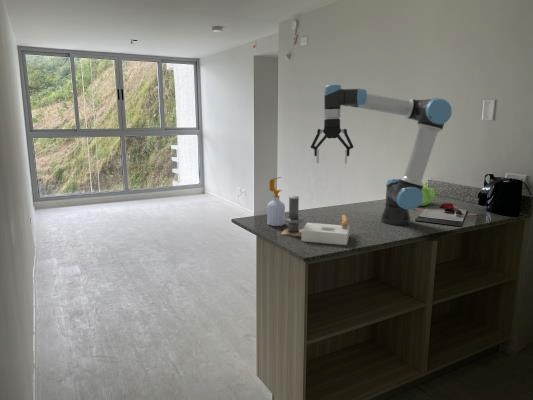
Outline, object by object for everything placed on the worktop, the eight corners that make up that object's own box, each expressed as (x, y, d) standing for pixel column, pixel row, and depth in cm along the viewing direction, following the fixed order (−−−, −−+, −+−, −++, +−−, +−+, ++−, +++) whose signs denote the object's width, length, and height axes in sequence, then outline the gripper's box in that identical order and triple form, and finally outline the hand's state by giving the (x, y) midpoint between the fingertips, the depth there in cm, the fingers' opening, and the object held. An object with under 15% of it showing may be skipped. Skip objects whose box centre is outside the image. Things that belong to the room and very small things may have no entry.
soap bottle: (279, 227, 206) (279, 178, 201) (263, 224, 210) (264, 177, 205) (287, 223, 213) (288, 176, 208) (272, 221, 218) (273, 175, 213)
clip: (347, 225, 184) (347, 223, 184) (341, 225, 185) (341, 222, 185) (346, 217, 199) (346, 215, 199) (341, 217, 200) (341, 214, 199)
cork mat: (305, 230, 200) (305, 229, 200) (302, 236, 190) (302, 235, 190) (285, 229, 202) (285, 228, 202) (281, 234, 193) (281, 233, 193)
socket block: (348, 236, 192) (349, 223, 190) (346, 245, 178) (347, 231, 177) (306, 232, 197) (307, 219, 195) (301, 241, 183) (301, 227, 182)
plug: (306, 230, 198) (306, 195, 194) (298, 235, 190) (299, 199, 186) (289, 227, 202) (289, 194, 198) (281, 232, 194) (281, 197, 190)
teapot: (404, 206, 255) (406, 184, 252) (397, 200, 274) (398, 179, 271) (435, 207, 254) (437, 184, 251) (425, 201, 273) (427, 179, 270)
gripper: (359, 118, 195) (358, 162, 199) (307, 118, 201) (307, 161, 206) (358, 118, 188) (357, 164, 192) (305, 119, 194) (305, 163, 198)
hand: (331, 163), depth 199 cm, fingers open, 13 cm apart
